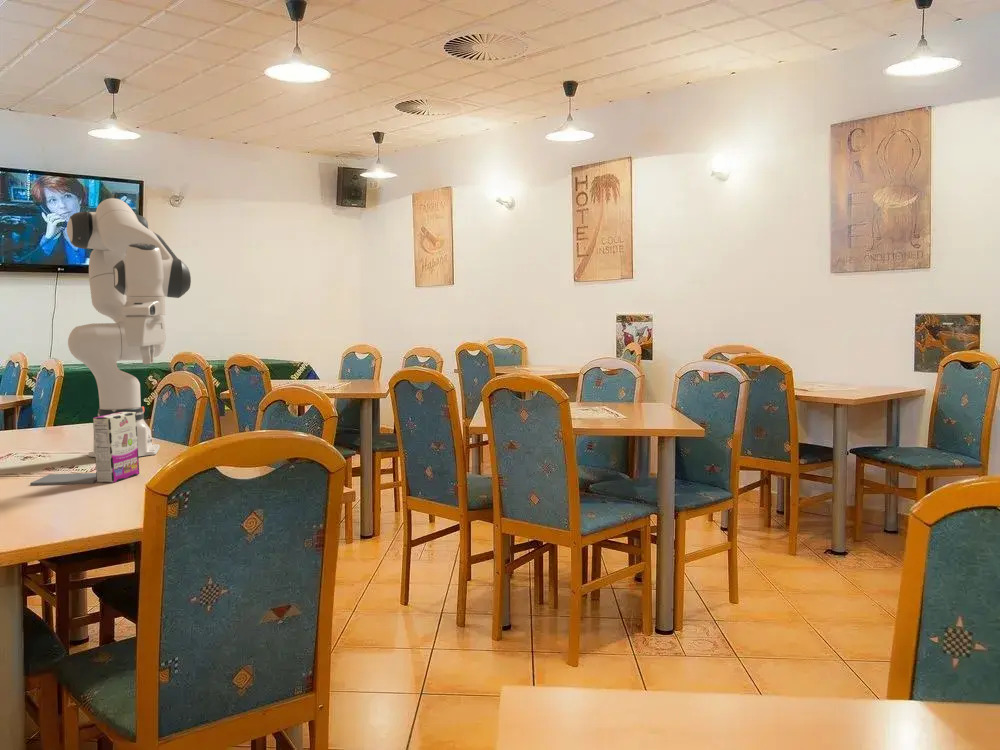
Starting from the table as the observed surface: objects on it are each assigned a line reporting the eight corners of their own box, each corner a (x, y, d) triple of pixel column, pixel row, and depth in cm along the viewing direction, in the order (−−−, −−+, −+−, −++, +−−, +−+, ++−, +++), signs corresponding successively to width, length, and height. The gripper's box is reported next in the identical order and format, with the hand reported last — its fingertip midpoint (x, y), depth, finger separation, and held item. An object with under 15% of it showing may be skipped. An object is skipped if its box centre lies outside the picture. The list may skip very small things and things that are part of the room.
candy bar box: (122, 474, 214) (119, 411, 213) (140, 474, 213) (137, 411, 212) (94, 482, 203) (91, 416, 202) (113, 483, 202) (110, 417, 201)
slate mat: (49, 476, 211) (49, 474, 211) (108, 474, 213) (108, 472, 213) (30, 485, 200) (30, 482, 200) (92, 483, 202) (92, 481, 202)
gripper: (145, 309, 216) (147, 361, 217) (119, 308, 195) (121, 366, 196) (170, 308, 216) (172, 361, 217) (146, 308, 196) (148, 366, 197)
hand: (148, 363), depth 207 cm, fingers closed
